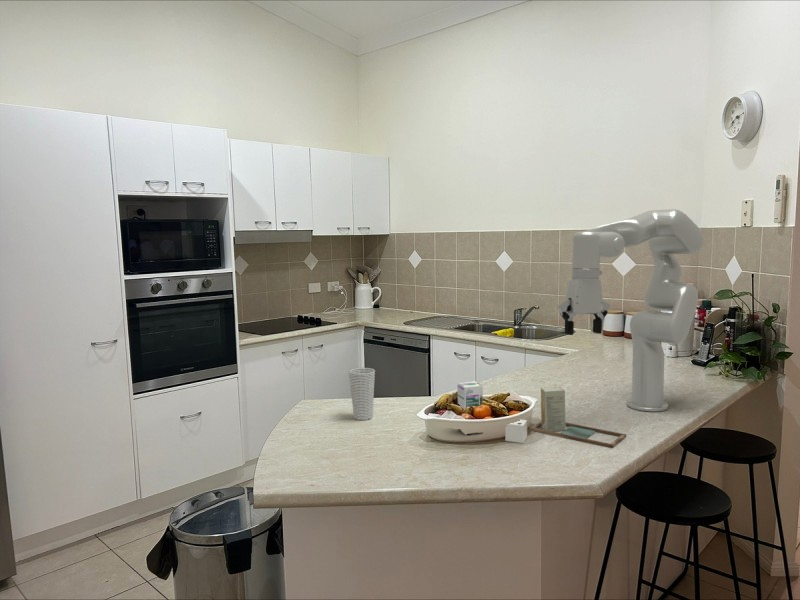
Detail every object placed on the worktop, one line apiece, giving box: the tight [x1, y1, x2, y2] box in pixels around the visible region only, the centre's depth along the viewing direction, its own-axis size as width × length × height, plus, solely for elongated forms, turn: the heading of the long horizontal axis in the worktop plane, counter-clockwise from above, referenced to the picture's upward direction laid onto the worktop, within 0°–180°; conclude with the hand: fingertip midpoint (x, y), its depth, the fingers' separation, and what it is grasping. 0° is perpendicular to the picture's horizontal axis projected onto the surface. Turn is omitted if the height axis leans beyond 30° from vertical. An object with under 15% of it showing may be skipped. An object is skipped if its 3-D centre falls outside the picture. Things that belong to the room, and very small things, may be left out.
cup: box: [348, 367, 376, 421], centre depth 186 cm, size 8×8×16 cm
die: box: [504, 419, 528, 444], centre depth 163 cm, size 5×5×5 cm
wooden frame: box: [530, 421, 627, 449], centre depth 167 cm, size 11×24×1 cm, turn 50°
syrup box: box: [456, 380, 484, 409], centre depth 170 cm, size 6×6×14 cm
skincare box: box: [540, 386, 566, 432], centre depth 171 cm, size 6×4×12 cm
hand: (583, 333), depth 168 cm, fingers open, 9 cm apart
